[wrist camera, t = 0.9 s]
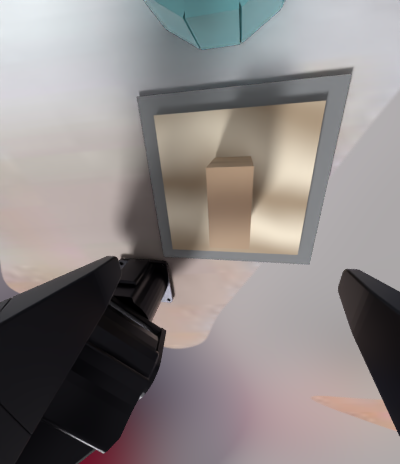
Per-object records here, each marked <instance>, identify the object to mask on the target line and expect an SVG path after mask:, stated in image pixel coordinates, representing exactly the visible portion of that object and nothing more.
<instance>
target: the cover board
mask: <svg viewBox="0 0 400 464" xmlns="http://www.w3.org/2000/svg"><path fill="white" fill-rule="evenodd" d="M325 104H326V101H315V102H303V103H292V104H280V105H269V106H257V107H246V108H234V109H223V110H211V111H200V112H188V113H177V114H165V115H154V121H155V128H156V135H157V142H158V149H159V156H160V163H161V170H162V177H163V184H164V191H165V198H166V205H167V212H168V219H169V226H170V233H171V240H172V247H173V249H179V250H201V251H223V252H245V253H267V254H288V255H298V250H299V245H300V239H301V234H302V228H303V223H304V217H305V212H306V207H307V201H308V196H309V190H310V185H311V180H312V174H313V169H314V163H315V158H316V153H317V147H318V142H319V136H320V131H321V126H322V120H323V115H324V109H325Z"/></svg>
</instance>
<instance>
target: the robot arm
mask: <svg viewBox="0 0 400 464" xmlns="http://www.w3.org/2000/svg"><path fill="white" fill-rule="evenodd" d="M122 262H123V263H122ZM162 264H163V265H164V266H163V265H162ZM338 292H339V295H340V299H341V302H342V305H343V308H344V311H345V314H346V317H347V320H348V323H349V326H350V329H351V331H352V334H353V336H354V338H355V341H356V343H357V345H358V347H359V349H360V351H361V354H362V356H363V358H364V360H365V362H366V365H367V367H368V369H369V371H370V373H371V375H372V377H373V380H374V382H375V384H376V386H377V388H378V391H379V393H380V395H381V397H382V399H383V401H384V404H385V406H386V408H387V410H388V412H389V414H390V417H391V419H392V421H393V423H394V425H395V427H396V430H397V432H398V434H399V436H400V292H399V291H397V290H395V289H394V288H392V287H390V286H388V285H386V284H384V283H382V282H381V281H379V280H377V279H375V278H373V277H371V276H370V275H368V274H366V273H364V272H362V271H360V270H357V269H345V270H344V271H343V273H342V277H341V280H340V283H339V286H338ZM172 300H173V293H172V287H171V281H170V275H169V269H168V264H167V262H165V261H157V260H144V259H120V260H119V261H118V258H117V257H115V256H106V257H104V258H102V259H99V260H97V261H95V262H92V263H90V264H88V265H85V266H83V267H81V268H79V269H76V270H74V271H72V272H69V273H67V274H65V275H62V276H60V277H58V278H55V279H53V280H51V281H48V282H46V283H44V284H42V285H39V286H37V287H35V288H32V289H30V290H28V291H25V292H23V293H21V294H19V295H16V296H14V297H13V298H9V299H7V300H4V301H2V302H0V464H79V463H80V462H81V461H82V460H84V459H85V458H86V457H87V456H89V455H90V454H91V453H92V452H94V451H95V450H98V451H100V452H102V453H105V452H106V451H108V450H109V449H110V448H111V447H112V446H113V444H114V443H115V442H116V441H117V440H118V439H119V438H120V436H121V434H122V432H123V430H124V427H125V425H126V423H127V421H128V419H129V417H130V415H131V412H132V411H133V409H134V406H135V405H136V403H137V401H138V400H139V399H140V398H142V397H143V396H144V394H145V393H146V392H147V391H148V389H149V388H150V386H151V384H152V383H153V381H154V379H155V377H156V375H157V372H158V370H159V367H160V363H161V358H162V352H163V346H164V341H165V335H166V330H164V329H163V328H160V327H158V326H157V325H155V324H154V323H152V320H153V318H154V315H155V313H156V311H157V309H158V307H159V305H160V303H161V302H172Z"/></svg>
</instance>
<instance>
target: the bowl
mask: <svg viewBox="0 0 400 464" xmlns="http://www.w3.org/2000/svg"><path fill="white" fill-rule="evenodd" d="M143 1H144V2H145V3H146V4H147V6H148V7H149V8H150V10H151V11H152V12H153V13H154V15H155V16H156V17H157V19H158V20H159V21H160V22H161V24H162V25H163V26H164V28H165V29H166V30H168V31H169V32H171V33H173V34H174V35H176V36H178V37H180V38H181V39H183V40H185V41H186V42H188V43H190V44H191V45H193V46H195V47H196V48H198V49H200V48H201V50H205V49H211V48H218V47H225V46H232V45H239V44H240V40H241V43H243V42H244V41H245V40H246V39H248V38H249V37H250V36H251V35H252V34H253V33H254V32H256V31H257V30H258V29H259V28H260V27H261V26H262V25H264V24H265V23H266V22H267V21H268V20H269V19H270V18H272V17H273V16H274V15H275V14H276V13H277V12H279V11H280V8H282V6H283V4H284V2H285V0H143Z"/></svg>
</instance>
